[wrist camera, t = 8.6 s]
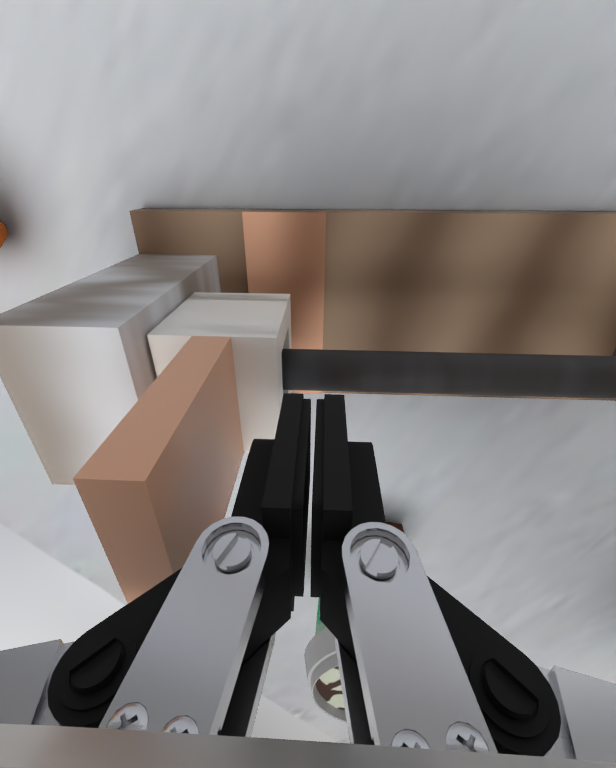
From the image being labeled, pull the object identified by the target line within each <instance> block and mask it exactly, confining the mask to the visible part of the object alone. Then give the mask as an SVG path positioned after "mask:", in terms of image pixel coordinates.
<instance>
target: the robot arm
mask: <svg viewBox="0 0 616 768" xmlns="http://www.w3.org/2000/svg"><path fill="white" fill-rule="evenodd" d="M310 431H311V399H304V397H303V394H295V393H284V394H283V399H282V404H281V409H280V414H279V420H278V425H277V430H276V435H275V439H254V440H253V441H252V444H251V447H250V451H249V455H248V458H247V462H246V465H245V469H244V473H243V476H242V480H241V483H240V487H239V491H238V494H237V498H236V501H235V505H234V509H233V512H232V516H231V517H229V518H225V519H221V520H219V521H217V522H215V523H213V524H212V525H210V526H209V527H208V528H207V529H206V530H204V531H203V533H202V534H201V535H200V537H199V538H198V540H197V541H196V543H195V545H194V547H193V549H192V551H191V553H190V554H189V556H188V558H187V560H186V562H185V564H184V566H183V567H182V568H181V569H179V570H178V571H176V572H175V573H173V574H172V575H170V576H169V577H167V578H166V579H164V580H163V581H161V582H160V583H158V584H157V585H155V586H154V587H152V588H151V589H149V590H148V591H146V592H145V593H143V594H142V595H140V596H139V597H138V598H136V599H135V600H133V601H132V602H130V603H129V604H127V605H126V606H124V607H123V608H121V609H120V610H118V611H117V612H115V613H114V614H112V615H111V616H109V617H108V618H106V619H105V620H103V621H102V622H100V623H99V624H97V625H96V626H95V627H93V628H91V629H90V630H88V631H87V632H86V633H85V634H83V635H82V636H81V637H80V638H78V639H77V640H76V641H75V642H71V643H65V644H64V643H63V642H62V640H61V639H59V640H53V641H49V642H44V643H38V644H33V645H28V646H23V647H18V648H13V649H8V650H3V651H0V768H616V684H613V683H610V682H607V681H603V680H600V679H597V678H593V677H590V676H587V675H583V674H580V673H577V672H573V671H570V670H567V669H563V668H560V667H557V666H553V668H552V669H551V670H548V669H544V668H541V667H538V666H536V665H535V664H534V663H533V662H532V661H531V660H530V659H529V658H528V657H527V656H526V655H525V654H523V653H522V652H521V651H520V650H519V649H517V648H516V647H515V646H514V645H512V644H511V643H510V642H509V641H507V640H506V639H505V638H504V637H502V636H501V635H500V634H499V633H497V632H496V631H495V630H494V629H492V628H491V627H490V626H489V625H487V624H486V623H485V622H484V621H483V620H481V619H480V618H479V617H478V616H476V615H475V614H474V613H473V612H471V611H470V610H469V609H468V608H466V607H465V606H464V605H463V604H461V603H460V602H459V601H458V600H456V599H455V598H454V597H453V596H451V595H450V594H449V593H448V592H447V591H445V590H444V589H443V588H442V587H440V586H439V585H438V584H437V583H435V582H434V581H433V580H432V579H430V578H429V577H428V576H427V575H426V573H425V570H424V568H423V565H422V563H421V560H420V558H419V555H418V553H417V550H416V549H415V547H414V545H413V543H412V542H411V540H410V539H409V538H408V537H407V536H406V535H405V534H404V533H403V532H402V531H400V530H398V529H397V528H395V527H393V526H391V525H388V524H386V522H385V516H384V510H383V504H382V498H381V492H380V486H379V480H378V474H377V468H376V462H375V456H374V450H373V445H372V443H371V442H348V439H347V426H346V413H345V400H344V395H331V394H325V397H324V399H317V407H316V429H315V451H314V473H313V495H312V537H311V597H320V620H321V622H322V623H323V624H324V625H325V626H326V627H327V628H328V629H329V631H330V632H331V633H332V634H333V635H334V636H335V646H336V653H337V660H338V666H339V673H340V680H341V686H342V693H343V700H344V706H345V713H346V720H347V726H348V733H349V740H350V744H347V743H332V742H316V741H300V740H285V739H269V738H251V734H252V729H253V726H254V722H255V718H256V714H257V710H258V706H259V701H260V698H261V694H262V689H263V685H264V681H265V677H266V673H267V669H268V665H269V661H270V657H271V653H272V649H273V645H274V641H275V633H276V631H277V630H278V629H279V628H281V627H282V626H283V625H284V624H285V623H286V622H287V621H288V620H289V619H290V618H291V611H293V610H294V597H295V596H302V597H303V593H304V576H305V558H306V540H307V522H308V504H309V487H310Z"/></svg>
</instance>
